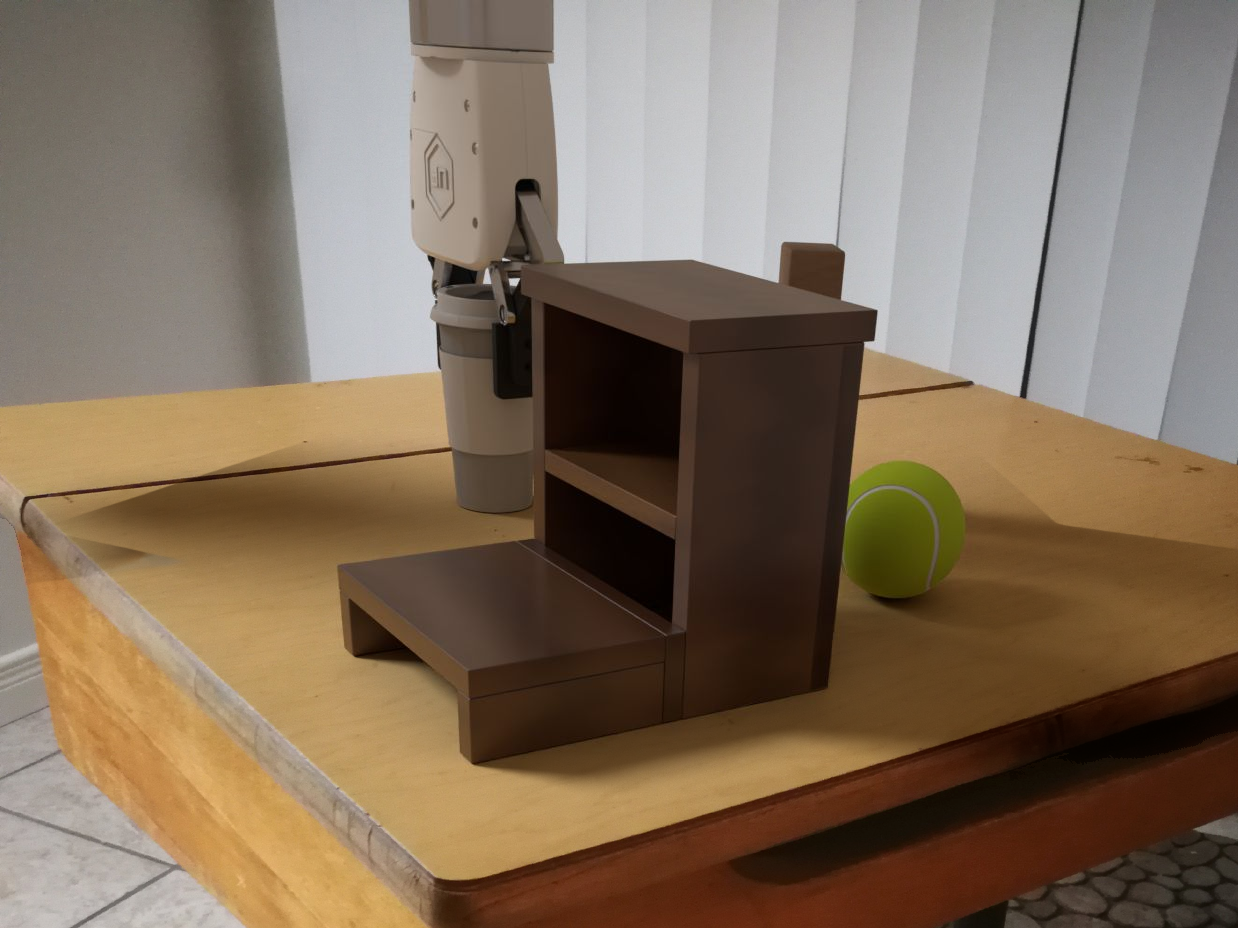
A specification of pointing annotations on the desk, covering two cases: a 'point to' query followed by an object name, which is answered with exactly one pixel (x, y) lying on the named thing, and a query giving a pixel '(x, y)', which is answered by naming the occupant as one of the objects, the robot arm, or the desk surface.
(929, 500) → the tennis ball
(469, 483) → the cup
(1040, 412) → the desk surface
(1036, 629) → the desk surface
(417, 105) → the robot arm
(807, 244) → the wooden block
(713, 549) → the shelf
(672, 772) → the desk surface
